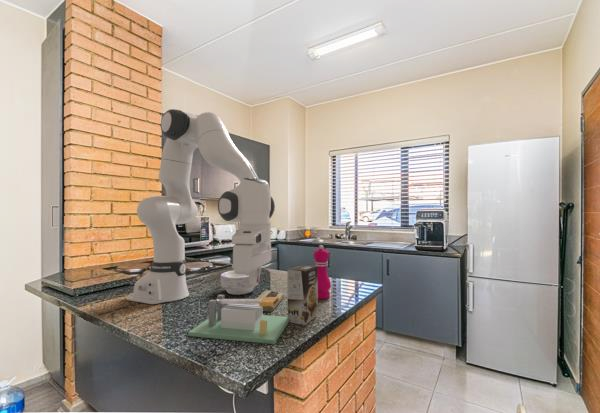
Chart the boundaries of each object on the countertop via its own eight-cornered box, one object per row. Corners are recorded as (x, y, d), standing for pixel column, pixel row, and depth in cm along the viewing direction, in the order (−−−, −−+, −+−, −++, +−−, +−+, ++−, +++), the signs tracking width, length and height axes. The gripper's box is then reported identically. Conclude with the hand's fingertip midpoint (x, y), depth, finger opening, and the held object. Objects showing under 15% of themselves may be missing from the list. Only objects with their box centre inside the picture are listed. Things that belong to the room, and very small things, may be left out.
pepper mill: (309, 298, 110) (309, 245, 110) (315, 293, 116) (315, 243, 117) (327, 300, 107) (327, 246, 107) (333, 295, 114) (332, 244, 114)
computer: (273, 313, 95) (273, 303, 95) (249, 311, 97) (249, 301, 97) (284, 298, 111) (284, 290, 111) (264, 297, 112) (264, 289, 112)
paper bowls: (213, 292, 118) (213, 273, 118) (242, 285, 130) (242, 267, 130) (236, 300, 108) (236, 278, 108) (266, 291, 120) (265, 272, 120)
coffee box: (306, 326, 84) (305, 270, 84) (286, 322, 87) (286, 269, 87) (318, 316, 92) (318, 265, 92) (301, 313, 95) (300, 264, 95)
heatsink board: (188, 335, 77) (188, 305, 77) (217, 314, 93) (217, 289, 93) (274, 344, 72) (274, 311, 72) (290, 320, 88) (290, 293, 88)
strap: (210, 306, 82) (210, 301, 82) (219, 300, 87) (219, 296, 87) (273, 306, 78) (273, 302, 78) (278, 300, 83) (278, 296, 83)
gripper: (257, 231, 93) (257, 274, 93) (228, 237, 73) (228, 292, 73) (276, 232, 91) (276, 275, 91) (252, 238, 71) (251, 294, 71)
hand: (254, 283), depth 82 cm, fingers closed
